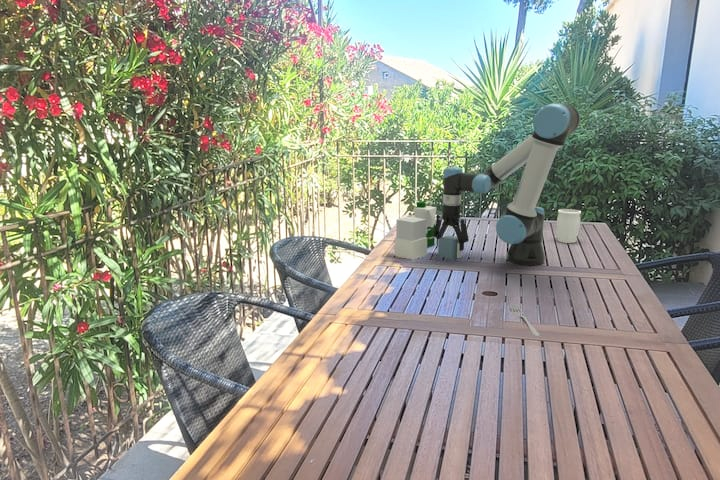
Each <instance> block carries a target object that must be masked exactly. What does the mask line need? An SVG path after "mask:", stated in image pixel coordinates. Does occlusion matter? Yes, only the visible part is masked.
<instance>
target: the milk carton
mask: <svg viewBox="0 0 720 480" xmlns="http://www.w3.org/2000/svg"><path fill="white" fill-rule="evenodd" d="M413 211H414V212H413V213H414V217H415V218H421V219H426V237H427V249H428V248H429V247H432V246H435V243H436V242H435V240H436V237H434V236H433V232H434V228H435V224H436V216H437V207H436V206H431V205H427V202H425V201H418V202H416V206H414V207H413Z"/></svg>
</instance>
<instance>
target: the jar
mask: <svg viewBox="0 0 720 480" xmlns="http://www.w3.org/2000/svg"><path fill="white" fill-rule="evenodd" d="M557 213H558V215H557V219H556V233H557V236H558V238H557V241H558V242H559V243H563V244H575V243H576V242H577V237H578V234H579V231H580V227H581V214H582V211H581V210H578V209H573V208H559V209H558V210H557Z"/></svg>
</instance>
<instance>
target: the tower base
mask: <svg viewBox="0 0 720 480" xmlns="http://www.w3.org/2000/svg"><path fill="white" fill-rule="evenodd" d="M393 252H394V256H395V257H399V258H404V259H408V260H412V261H413V260H417V259H419V258H423V257H425V256H428V248H427V237H426V238H422V239H419V240H415V241H409V240H405V239H400V238H396V237H394V250H393Z"/></svg>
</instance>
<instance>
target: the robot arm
mask: <svg viewBox="0 0 720 480" xmlns="http://www.w3.org/2000/svg"><path fill="white" fill-rule="evenodd" d="M580 122H581V116H580V112H579V110H578V109H577V108H576V107H575V106H573V105H571V104H568V103H549V104H546V105H544V106H542V107H540V109H539V110H538V111H537V112H536V113H535V115H534V118H533V120H532V127H533V132H532V134H531V135H529V136H528V137H527V138H525V139H524V140H523V141H522V142H521V143H519V144H518V145H517V146H516V147H514V148H513V149H511V151H509V152H508V153H506V154H505V155H504V156H502V158H500V159H499V160H497V161H496V162H495V163H494V164H492V165H491V166H489V167H488V169H486V170H485V171H482V172H478V173H477V172H476V173H466V172H463V168H462V167H459V166H448V167H445V168H444V172H443V190H442V191H443V194H442V203H443V204H442V214H436V215H435V228H434V232H433V236H434V237H435V239H436V246H437V253H436V254H437V255H438V251H439V238H441V237H443V236H444V233H445V231H446V230H447V228H448V227H452V228H453V230H454V232H455V235H456V237H457V238H458V240H459V243H458V244H457V257H456V258H457V259H460V258H462V257H463V251H464V249H465V243H467V242H469V235H468V229H467V218H462V217H461V209H462V208H461V207H462V206H461V203H462V192H467V193H475V194H487V193H488V192H489V191H490V190H491V189H492V190H493V189H495V188H496V187H498V186H499V185H500V184H501V182H503V180H505V179H506V178H507V177H509V176H510V175H512V174H513V173H514V172H516V171H518V169H520V168H521V167H522V166H524V165H525V167H524V168H523V169H524V170H523V173H522V175H521V178H520V181H519V183H518V186H517V188H516V192H515V194H514V197H513V200H512V202H510V203H507V205H506V208H505V210H504V213H503V215H502V216H501V217H500V218H499V219H498V220H497V221H496V225H495V231H496V234H497V236H498V238H499V239H500V241H503V242H504V243H506V244H508V245H510V246H509V248H508V250H507V253H506V260H507V261H509V262H511V263H512V264H513V263H514V264H518V265H525V266H537V265H542V264H544V263H546V255H545V251H544V247H543V232H544V222H545V208H543V207H540V206H537V204H538V201H539V199H540V196H541V194H542V191H543V188H544V186H545V183H546V180H547V178H548V175H549V173H550V171H551V167H552V164H553V162H554V160H555V157H556V154H557V152H558V150H559V149H561V148H564V146H565V143H566V141H567V138H568V136H570V135H572V134H573V133H574V132H576V130H577V129H578V128H579V125H580Z"/></svg>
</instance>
